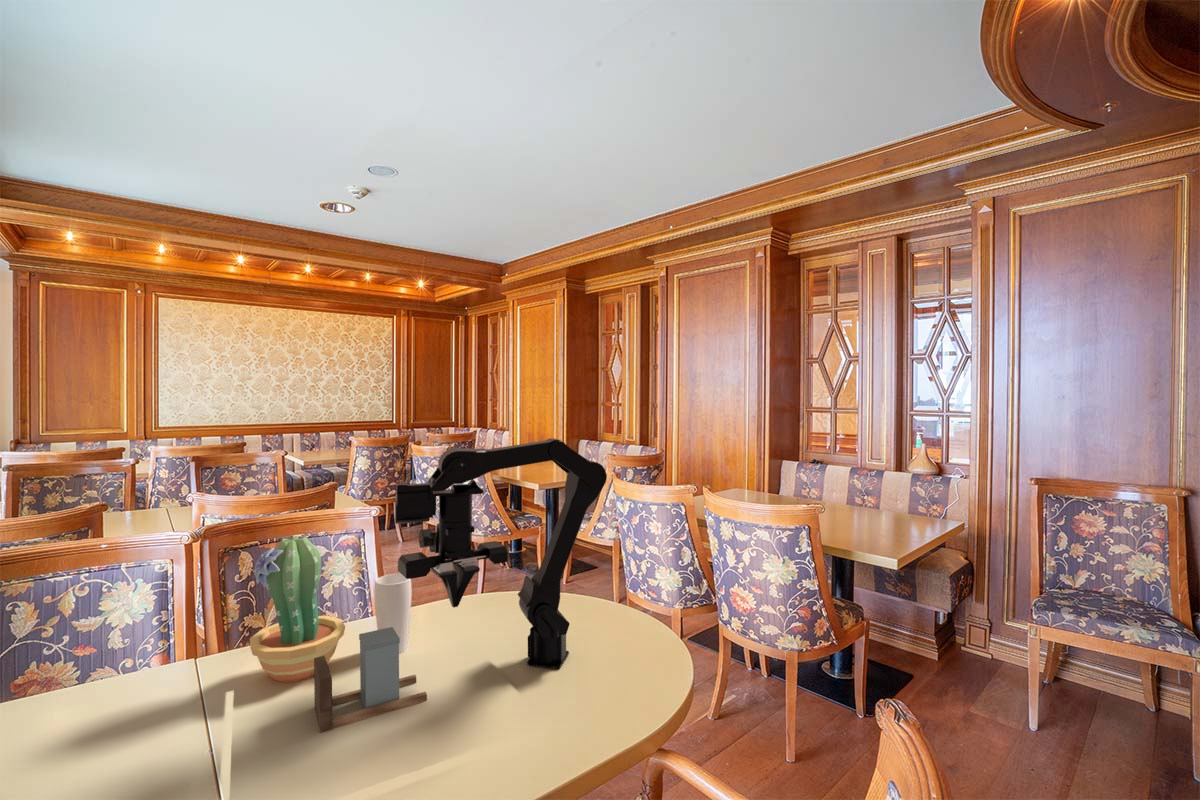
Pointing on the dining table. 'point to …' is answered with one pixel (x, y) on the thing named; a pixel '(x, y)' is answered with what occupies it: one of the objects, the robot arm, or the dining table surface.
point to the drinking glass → (394, 606)
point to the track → (326, 700)
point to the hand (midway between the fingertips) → (454, 606)
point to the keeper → (379, 667)
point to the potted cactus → (294, 612)
